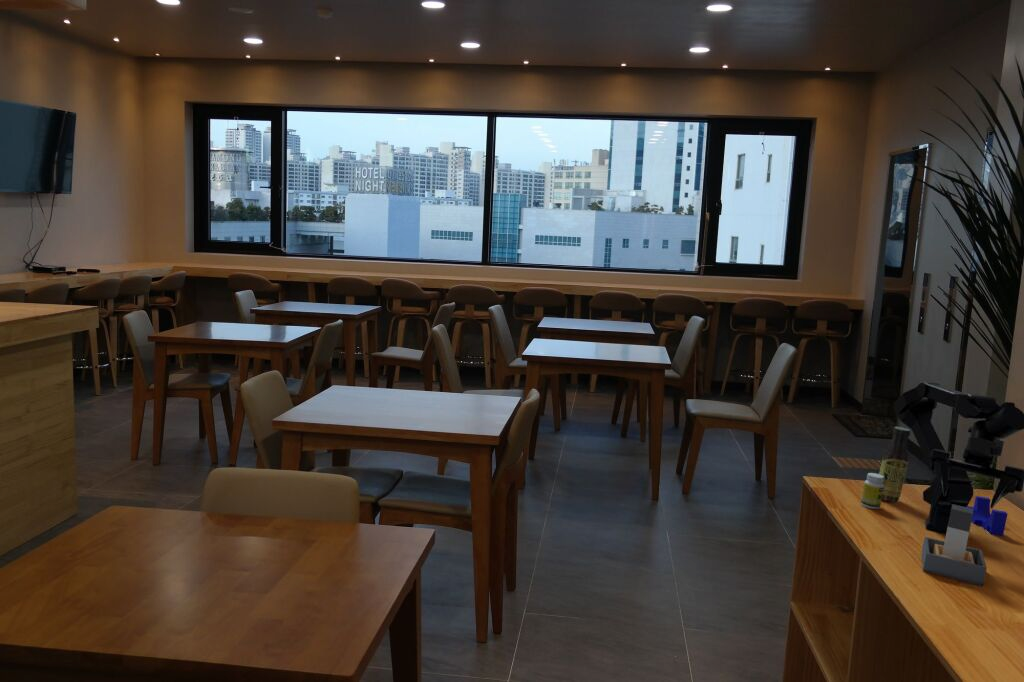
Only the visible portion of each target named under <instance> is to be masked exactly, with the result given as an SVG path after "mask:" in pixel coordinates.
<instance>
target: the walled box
mask: <svg viewBox="0 0 1024 682" xmlns="http://www.w3.org/2000/svg"><path fill="white" fill-rule="evenodd" d="M944 543H945V540H944V541H943V540H939V539H935V538H931V537H928V536H924V539H923V544H922V545H923V546H922V548H921V553H922V554H921V564H922V565H923V566H922V572H924V571H925V572H924V573H928V572H929V574H932V573H933V575H936V574H937V575H936V576H940V575H941V577H945V578H949V579H952V580H957V581H961V582H965V583H968V584H973V585H977V586H980V587H984V582H985V577H986V574H987V568H988V567H987V564H986V561H985V560H986V559H985V558H984V553H983V551H982V549H979V548H978V549H977V548H975V547H970V546H966V550H965V555H964V560H960V559H956V558H952V557H948V556H944V555H942V553H943V548H944Z"/></svg>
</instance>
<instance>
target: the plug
mask: <svg viewBox="0 0 1024 682" xmlns="http://www.w3.org/2000/svg"><path fill="white" fill-rule="evenodd" d="M972 516H973V509H971V508H967V507H962V506H958V505H954V504H952V508H951V513H950V518H949V523H948V528H947V533H945V534H946V535H945V539H944V541H945V543H944V548H943V553H942V555H944V556H948V557H952V558H956V559H960V560H964V555H965V550H966V547H967V545H968V539H969V535H970V529H971V524H972V522H971V521H972Z"/></svg>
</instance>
